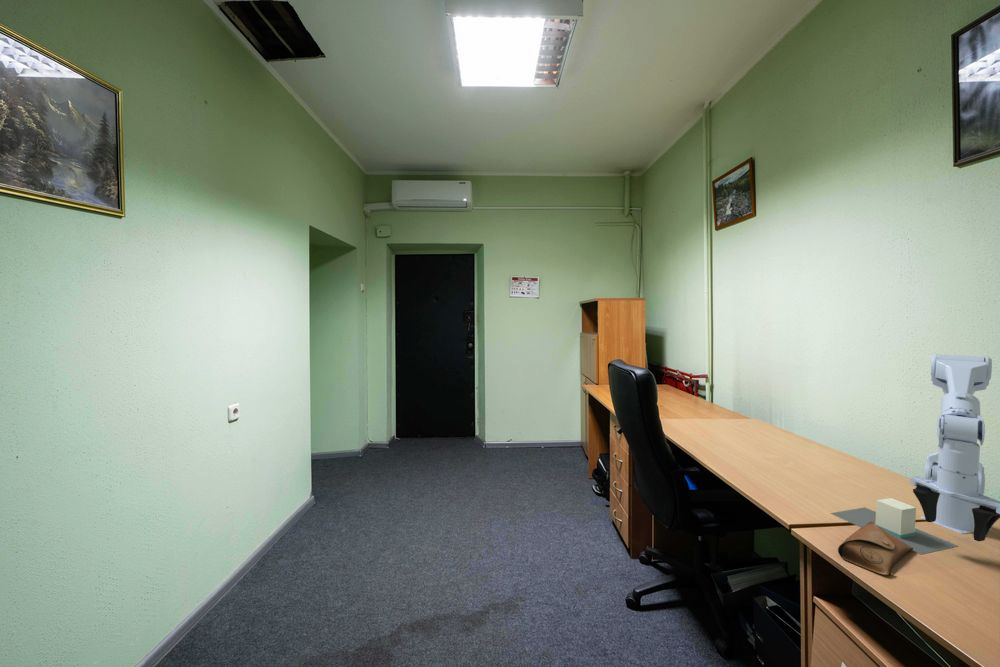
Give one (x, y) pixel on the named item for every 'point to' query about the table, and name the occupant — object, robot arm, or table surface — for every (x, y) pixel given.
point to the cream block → (896, 517)
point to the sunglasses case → (873, 549)
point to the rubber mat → (919, 542)
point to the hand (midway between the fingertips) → (953, 530)
